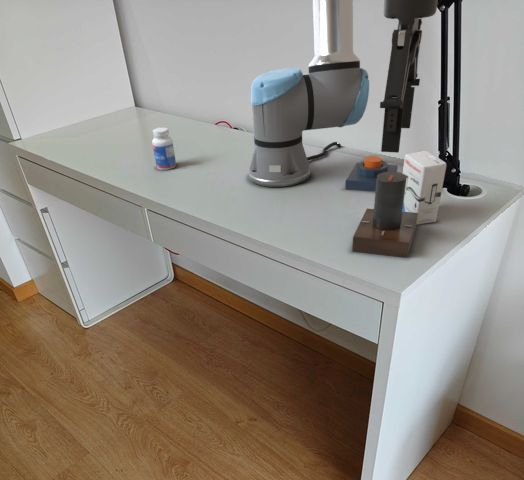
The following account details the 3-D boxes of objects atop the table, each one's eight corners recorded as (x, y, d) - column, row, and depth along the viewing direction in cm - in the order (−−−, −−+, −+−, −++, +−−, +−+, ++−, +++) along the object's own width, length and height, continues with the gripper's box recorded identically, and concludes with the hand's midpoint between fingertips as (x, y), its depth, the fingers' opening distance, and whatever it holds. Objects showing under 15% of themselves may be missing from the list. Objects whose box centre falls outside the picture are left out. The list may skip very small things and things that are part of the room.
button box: (356, 171, 125) (357, 155, 122) (396, 174, 122) (398, 157, 119) (345, 189, 116) (346, 172, 114) (388, 192, 113) (390, 175, 111)
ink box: (396, 209, 106) (403, 152, 99) (418, 205, 107) (426, 149, 99) (414, 225, 99) (423, 166, 92) (437, 222, 100) (448, 162, 93)
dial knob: (375, 217, 97) (379, 169, 91) (402, 219, 95) (408, 171, 89) (370, 228, 93) (374, 179, 87) (398, 231, 91) (404, 181, 85)
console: (365, 222, 102) (366, 207, 100) (415, 227, 99) (418, 212, 97) (352, 251, 93) (353, 235, 91) (407, 257, 90) (409, 241, 88)
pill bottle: (152, 168, 136) (145, 130, 130) (166, 162, 139) (159, 125, 133) (166, 171, 133) (160, 133, 127) (180, 165, 136) (174, 127, 130)
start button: (366, 163, 119) (366, 155, 118) (382, 164, 118) (383, 156, 117) (362, 168, 116) (363, 161, 115) (379, 169, 115) (380, 162, 114)
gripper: (431, -11, 61) (409, 164, 74) (446, -24, 79) (426, 119, 92) (370, -8, 63) (359, 161, 76) (398, -21, 81) (385, 118, 94)
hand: (396, 139), depth 84 cm, fingers open, 13 cm apart
